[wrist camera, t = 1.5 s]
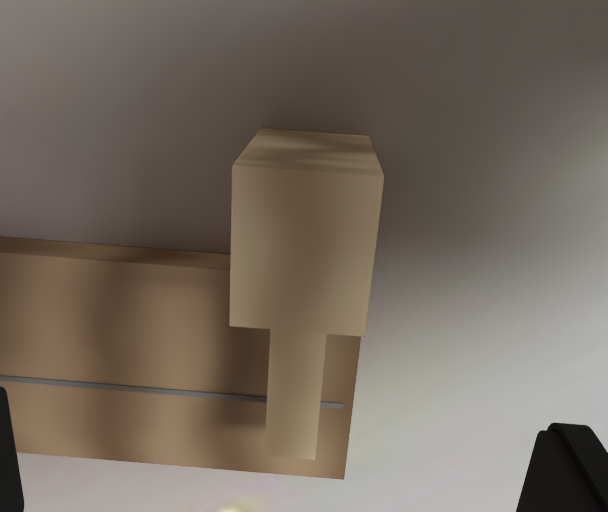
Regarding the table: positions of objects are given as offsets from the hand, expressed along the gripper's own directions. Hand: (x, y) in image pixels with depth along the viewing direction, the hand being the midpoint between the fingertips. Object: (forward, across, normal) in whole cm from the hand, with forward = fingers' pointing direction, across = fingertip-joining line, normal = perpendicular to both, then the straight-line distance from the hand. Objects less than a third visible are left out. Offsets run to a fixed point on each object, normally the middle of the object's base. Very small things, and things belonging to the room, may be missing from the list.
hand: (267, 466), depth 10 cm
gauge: (+18, 0, +4) cm, 19 cm away
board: (+18, +9, +9) cm, 22 cm away
